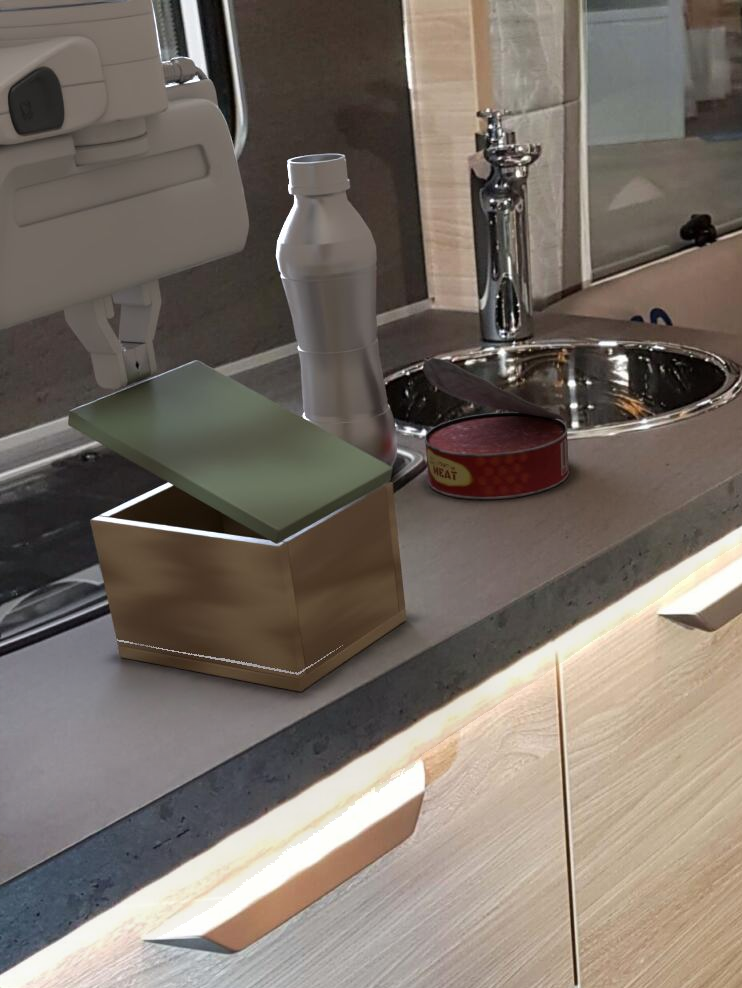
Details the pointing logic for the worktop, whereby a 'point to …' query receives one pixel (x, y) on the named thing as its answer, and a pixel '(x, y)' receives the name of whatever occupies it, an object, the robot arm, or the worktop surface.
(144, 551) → the chest
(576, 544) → the worktop surface
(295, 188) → the plastic bottle
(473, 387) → the canned food
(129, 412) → the lid
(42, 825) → the worktop surface
